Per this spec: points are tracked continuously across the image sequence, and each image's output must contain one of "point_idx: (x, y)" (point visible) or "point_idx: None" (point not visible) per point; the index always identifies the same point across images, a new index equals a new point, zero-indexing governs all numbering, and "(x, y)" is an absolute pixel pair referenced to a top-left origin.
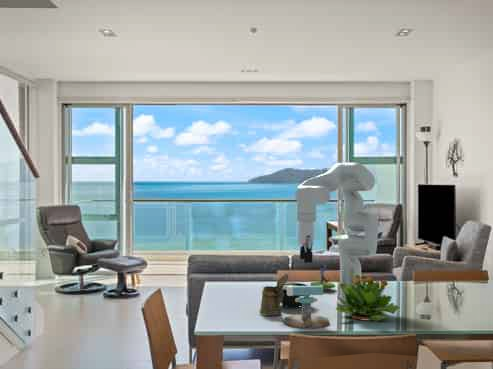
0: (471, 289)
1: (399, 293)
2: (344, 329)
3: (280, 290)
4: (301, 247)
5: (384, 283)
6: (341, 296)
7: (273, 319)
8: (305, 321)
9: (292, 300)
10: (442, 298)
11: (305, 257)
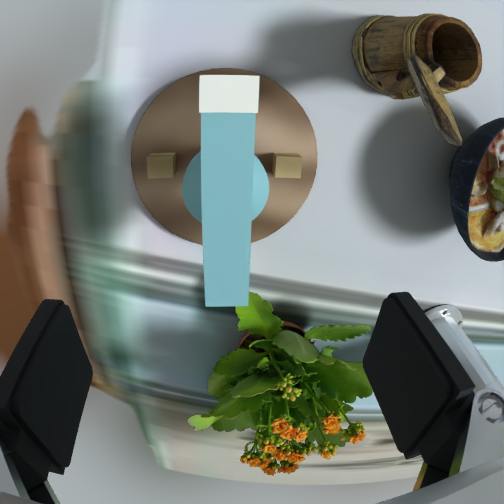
0: (416, 468)
1: None
2: (128, 272)
3: (409, 84)
4: (463, 432)
5: (271, 465)
6: (444, 329)
7: (297, 40)
8: (194, 154)
9: (454, 166)
10: (389, 453)
11: (25, 354)
